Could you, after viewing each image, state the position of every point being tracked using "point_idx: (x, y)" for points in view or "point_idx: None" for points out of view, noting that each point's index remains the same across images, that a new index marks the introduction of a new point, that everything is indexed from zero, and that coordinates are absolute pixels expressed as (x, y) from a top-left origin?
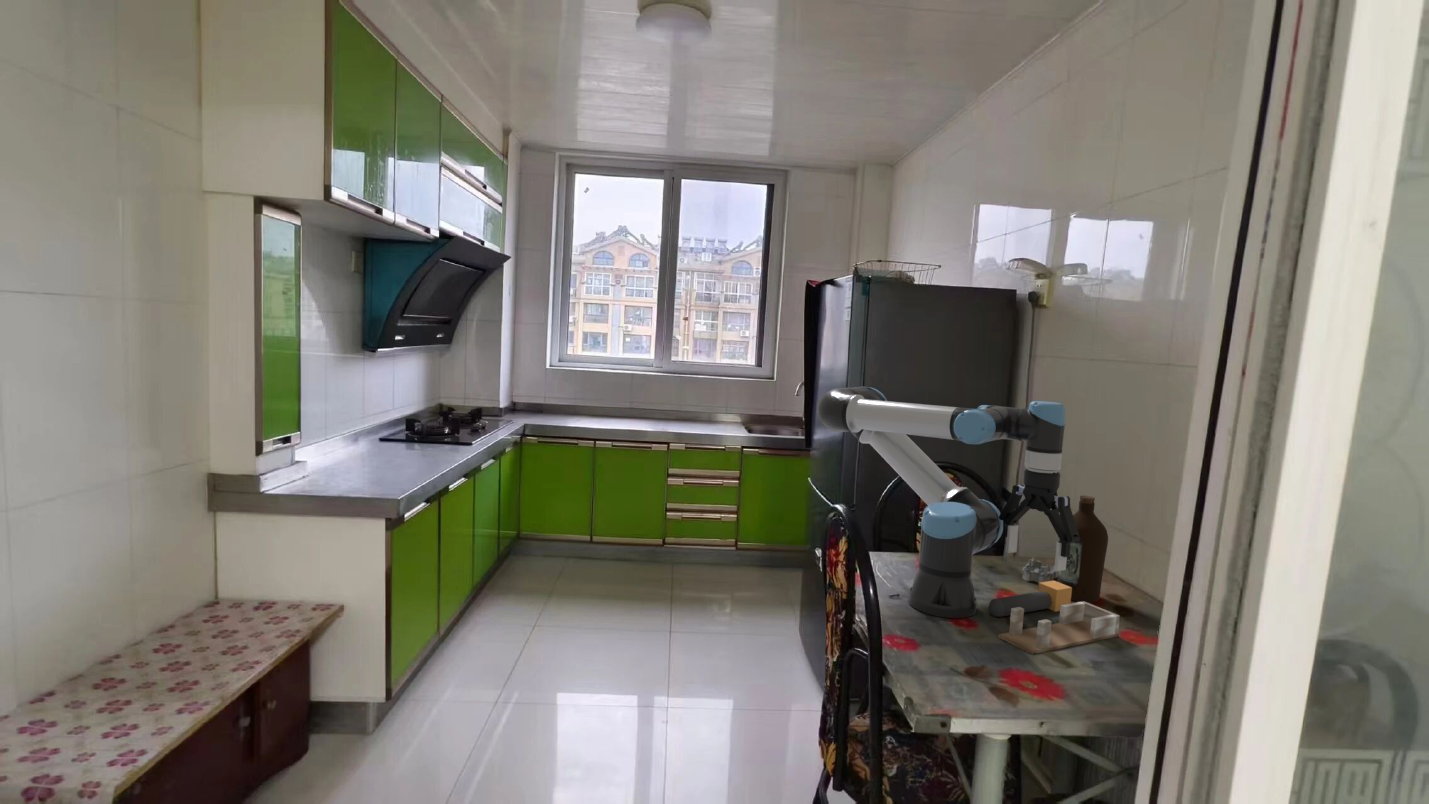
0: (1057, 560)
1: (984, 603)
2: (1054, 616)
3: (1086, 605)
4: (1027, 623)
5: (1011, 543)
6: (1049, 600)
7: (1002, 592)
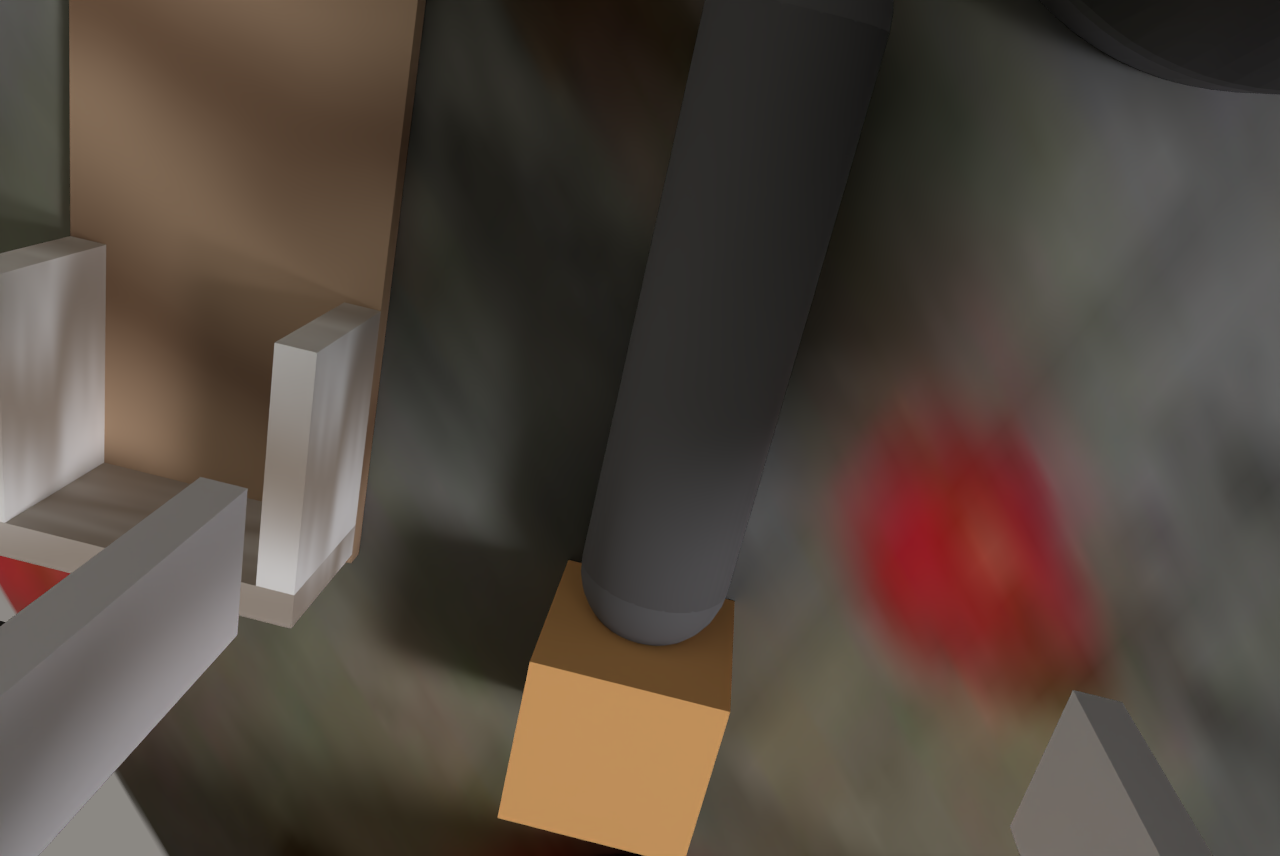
0: (114, 551)
1: (1036, 221)
2: (515, 463)
3: (247, 576)
4: (545, 112)
5: (1106, 847)
6: (584, 568)
7: (1049, 612)
